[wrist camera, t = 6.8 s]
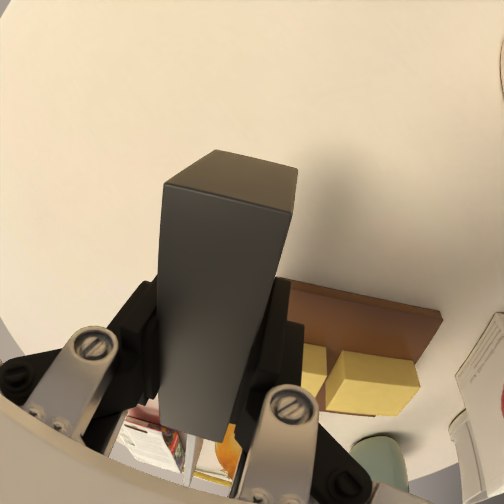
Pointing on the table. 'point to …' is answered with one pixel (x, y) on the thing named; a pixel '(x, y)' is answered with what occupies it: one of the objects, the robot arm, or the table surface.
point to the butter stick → (370, 384)
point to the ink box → (153, 444)
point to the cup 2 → (468, 460)
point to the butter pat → (313, 368)
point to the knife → (215, 285)
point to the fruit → (228, 451)
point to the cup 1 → (382, 461)
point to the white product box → (487, 401)
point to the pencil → (211, 478)
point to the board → (359, 326)
